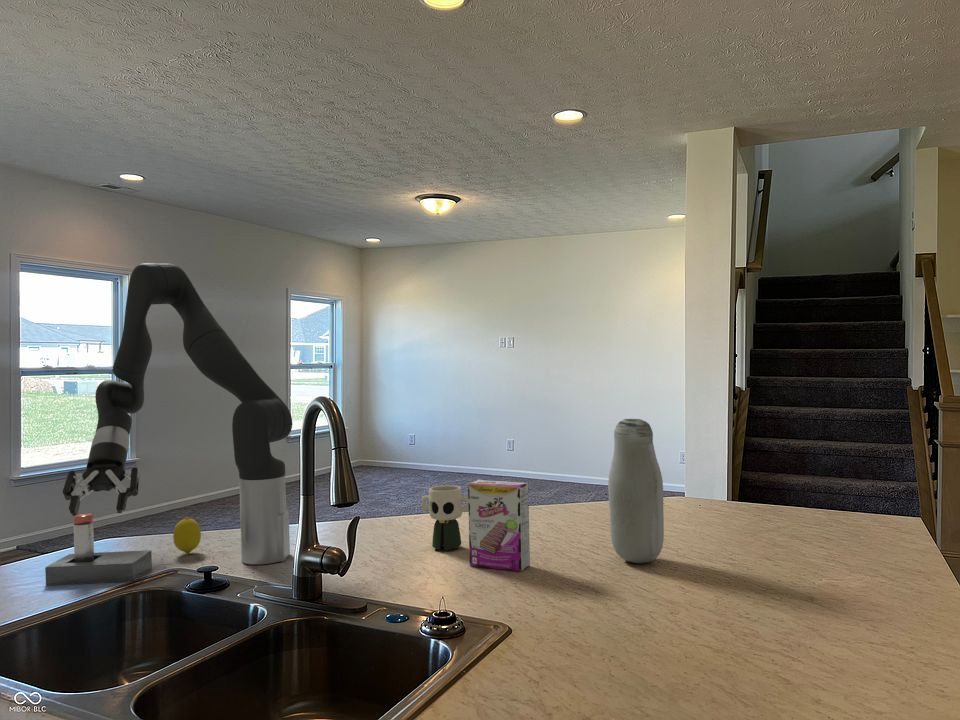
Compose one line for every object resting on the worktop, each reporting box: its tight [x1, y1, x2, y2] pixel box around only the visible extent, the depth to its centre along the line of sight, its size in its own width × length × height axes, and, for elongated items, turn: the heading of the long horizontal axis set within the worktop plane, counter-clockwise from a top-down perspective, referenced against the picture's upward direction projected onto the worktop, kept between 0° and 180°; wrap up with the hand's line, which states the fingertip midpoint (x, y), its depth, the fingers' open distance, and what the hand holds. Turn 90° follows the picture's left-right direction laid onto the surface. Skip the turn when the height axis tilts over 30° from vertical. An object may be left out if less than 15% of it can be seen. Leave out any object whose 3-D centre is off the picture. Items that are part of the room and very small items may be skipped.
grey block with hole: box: [44, 549, 153, 586], centre depth 140 cm, size 16×9×4 cm, turn 94°
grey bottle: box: [607, 418, 665, 564], centre depth 141 cm, size 10×10×28 cm
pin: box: [72, 513, 95, 563], centre depth 140 cm, size 3×3×12 cm
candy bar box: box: [467, 479, 531, 572], centre depth 140 cm, size 11×5×16 cm, turn 65°
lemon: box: [172, 516, 202, 555], centre depth 155 cm, size 6×6×8 cm
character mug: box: [421, 484, 469, 551], centre depth 154 cm, size 11×7×13 cm, turn 74°
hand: (96, 512), depth 150 cm, fingers open, 8 cm apart
